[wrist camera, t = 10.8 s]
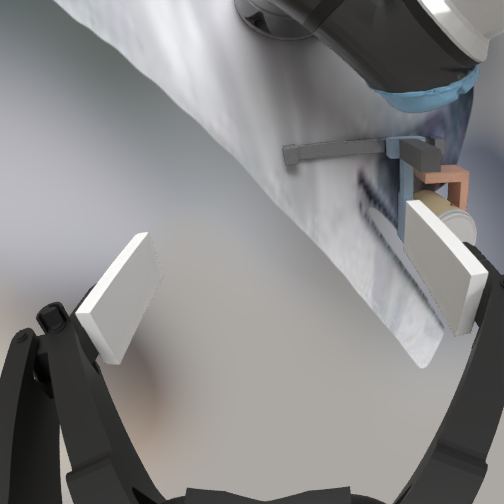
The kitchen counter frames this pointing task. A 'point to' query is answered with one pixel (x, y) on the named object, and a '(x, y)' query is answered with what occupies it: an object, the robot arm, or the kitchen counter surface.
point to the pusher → (411, 167)
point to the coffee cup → (449, 215)
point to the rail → (345, 148)
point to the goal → (450, 183)
